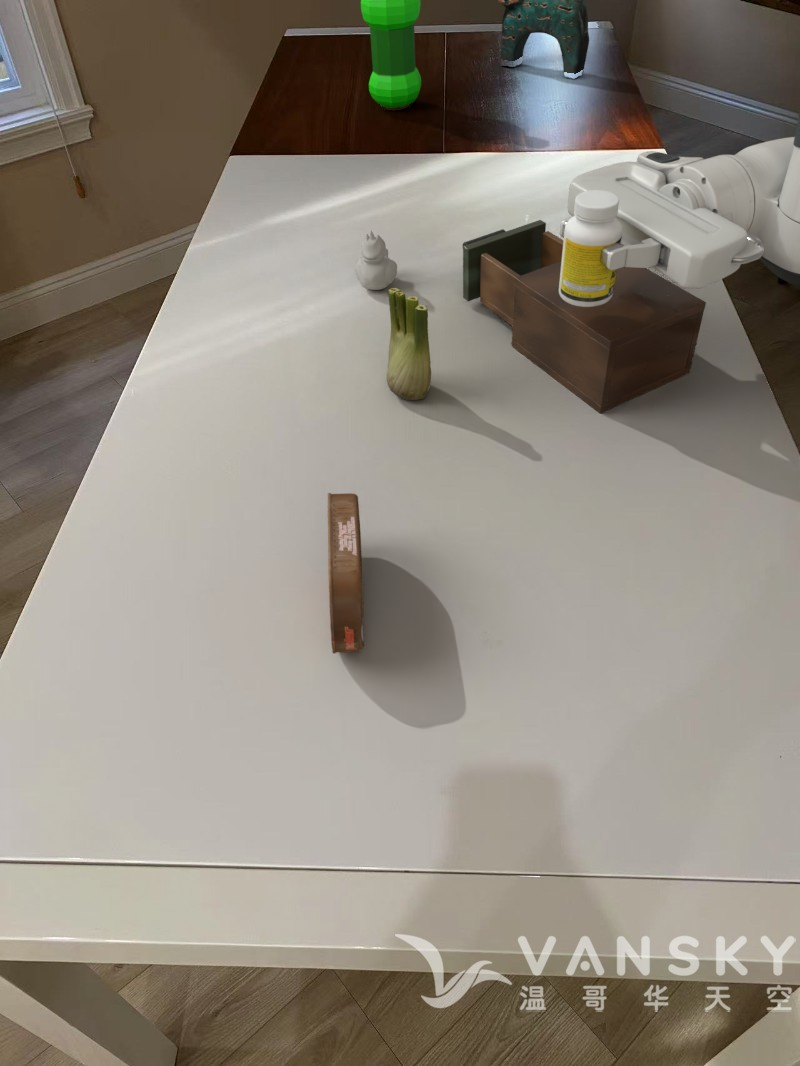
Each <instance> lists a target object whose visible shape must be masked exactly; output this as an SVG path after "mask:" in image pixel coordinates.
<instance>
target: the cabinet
mask: <svg viewBox="0 0 800 1066" xmlns="http://www.w3.org/2000/svg"><path fill="white" fill-rule="evenodd" d="M560 271H561V261H560V262H557V263H554V264H552V265H549V266H546V267H543V268H541V269H538V270H535V271H532V272H530V273H527V274H524V275H521V276H519V277H516V278H515V289H514V310H513V326H512V331H511V332H512V333H511V347H512V348H513V349H515V350H516V351H517V352H519V353H520V354H521V355H523V356H524V357H525V358H527V359H528V360H529V361H530V362H532V363H533V364H534V365H536V366H537V367H538V368H540V369H541V370H542V371H544V373H546V374H548V375H549V376H550V377H552V378H553V379H554V380H556V382H558V383H559V384H561V385H562V386H563V387H564V388H566V389H567V390H568V391H570V392H571V393H572V394H573V395H575V396H577V397H578V398H579V399H580V400H582V401H583V402H584V403H586V404H587V405H588V406H590V408H592V409H593V410H595V411H596V412H597V413H599V414H602V413H604V412H606V411H609V410H611V409H613V408H616V407H618V406H619V405H622V404H625V403H627V402H629V401H631V400H633V399H636V398H637V397H640V396H642V395H645V394H646V393H649V392H651V391H653V390H656V389H658V388H660V387H662V386H664V385H666V384H668V383H672V382H674V381H675V380H678V379H680V378H682V377H685V376H687V375H689V374H690V373H691V368H692V364H693V360H694V356H695V352H696V348H697V344H698V338H699V334H700V329H701V326H702V323H703V322H702V321H703V317H704V312H705V309H706V306H707V305H706V304H707V302H706V301H705V300H703V299H701V298H699V297H698V296H696V295H694V294H692V293H691V292H689V291H687V290H685V289H684V288H683V287H681V286H679V285H676V284H674V283H673V282H672V281H669V280H667V279H666V278H664V277H662V276H661V275H658V274H657V273H655V272H654V271H651V270H650V269H649V268H634V267H622V268H619V269H617V271H616V278H615V286H614V291H613V295H612V297H611V299H610V300H609V301H608V302H606V303H604V304H602V305H599V306H594V307H580V306H575V305H571V304H569V303H567V302H566V301H564V300H563V299H562V298H561V297H560V295H559V281H560Z"/></svg>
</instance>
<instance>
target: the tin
mask: <svg viewBox="0 0 800 1066" xmlns="http://www.w3.org/2000/svg"><path fill="white" fill-rule="evenodd" d="M359 506H360V505H359V496H358V494H356V493H349V492H348V493H331V492H328V493H327V547H328V548H327V549H328V550H327V555H328V557H327V558H328V559H327V561H328V563H327V564H328V572H327V573H328V598H329V605H328V606H329V624H330V638H331V640H330V641H331V651H332V654H334V655H335V654H336V653H351V652H352V653H354V652H361V651H362V650H364V649H365V639H364V637H365V635H364V589H363V588H364V586H363V561H362V560H363V558H362V537H361V536H362V535H361V534H362V533H361V522H360V521H361V520H360V518H361V517H360V507H359Z"/></svg>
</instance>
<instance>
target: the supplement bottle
mask: <svg viewBox="0 0 800 1066" xmlns="http://www.w3.org/2000/svg"><path fill="white" fill-rule="evenodd" d="M618 207H619V198H618V196H617V195H615V194H613V193H611V192H608V191H602V190H590V191H585V192H582V193H580V194H579V195H577V197H576V199H575V207H574V215H575V216H571V217H572V218H571V219H569V220H568V222H567V223H566V226H565V231H564V238H563V239H562V240H563V251H562V261H561V271H560V281H559V295H560V297H561V298H562V299H563V300H564V301H566V302H567V303H569V304H571V305H575V306H580V307H594V306H599V305H602V304H604V303H606V302H608V301H609V300H610V299H611V297H612V295H613V291H614V286H615V278H616V271H617V269H615V270H610V269H608V268H607V267H606V266H604V265H603V264H601V262H600V259H601V257H602V256H601V252H602V249H603V248H604V247H605V246H611V245H612V244H615V243H619V244H621V238H622V225H621V223H620V222H619V220H618V219H617V218H615V217H616V216H617V213H618Z"/></svg>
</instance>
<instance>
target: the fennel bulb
mask: <svg viewBox="0 0 800 1066" xmlns="http://www.w3.org/2000/svg"><path fill="white" fill-rule="evenodd" d="M387 296H388V303H389V304H388V305H389V315H390V316H389V317H390V335H389V345H388V363H387V371H386V384H387V387H388V388H389V390H390V391H391V392H392V393H393V394H394V395H395V396H397V397H399V398H400V399H403V400H405V401H406V400H407V401H418V400H419V401H420V400H423V399H425V398H426V396H427V394H428V392H429V389H430V386H431V383H432V367H431V363H432V361H431V352H430V341H429V320H428V319H429V313H428V311H429V310H428V307H427V305H425V304H420V303H419V297H417V296H408V297H407V296H406V293H405V292H403V291H402V290H401V289H399V288H398V287H391V288H390V289H388V290H387Z"/></svg>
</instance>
